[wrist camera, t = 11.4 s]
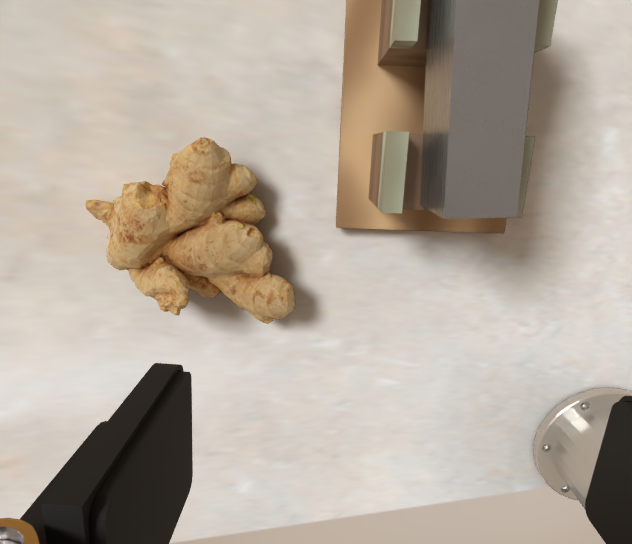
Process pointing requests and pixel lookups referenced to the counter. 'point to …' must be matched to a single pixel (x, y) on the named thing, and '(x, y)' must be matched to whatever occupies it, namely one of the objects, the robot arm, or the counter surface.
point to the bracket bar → (476, 105)
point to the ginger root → (196, 235)
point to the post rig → (397, 119)
